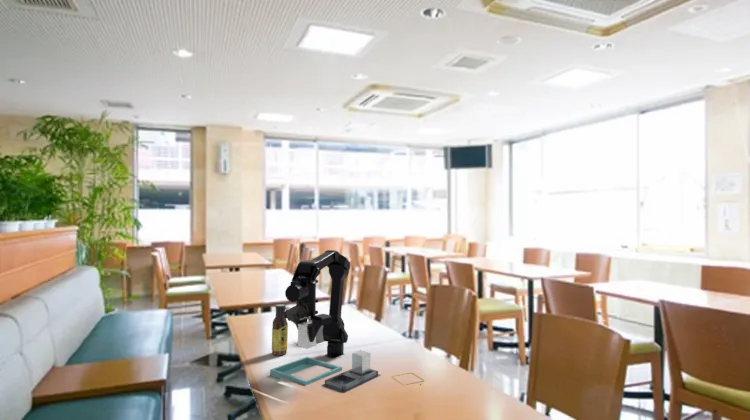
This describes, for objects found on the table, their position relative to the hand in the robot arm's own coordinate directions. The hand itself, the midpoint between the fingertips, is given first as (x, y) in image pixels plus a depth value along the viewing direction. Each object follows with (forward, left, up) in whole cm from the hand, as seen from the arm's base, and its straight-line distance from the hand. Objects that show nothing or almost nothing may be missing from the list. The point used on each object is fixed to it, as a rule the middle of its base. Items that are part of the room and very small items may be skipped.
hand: (307, 340), depth 160 cm
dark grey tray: (-4, +18, -12) cm, 22 cm away
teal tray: (0, 0, -12) cm, 12 cm away
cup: (-34, -28, -13) cm, 46 cm away
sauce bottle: (-10, -26, -13) cm, 31 cm away
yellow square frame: (-17, +32, -13) cm, 38 cm away
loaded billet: (-9, +18, -11) cm, 23 cm away
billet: (0, 0, -2) cm, 2 cm away
